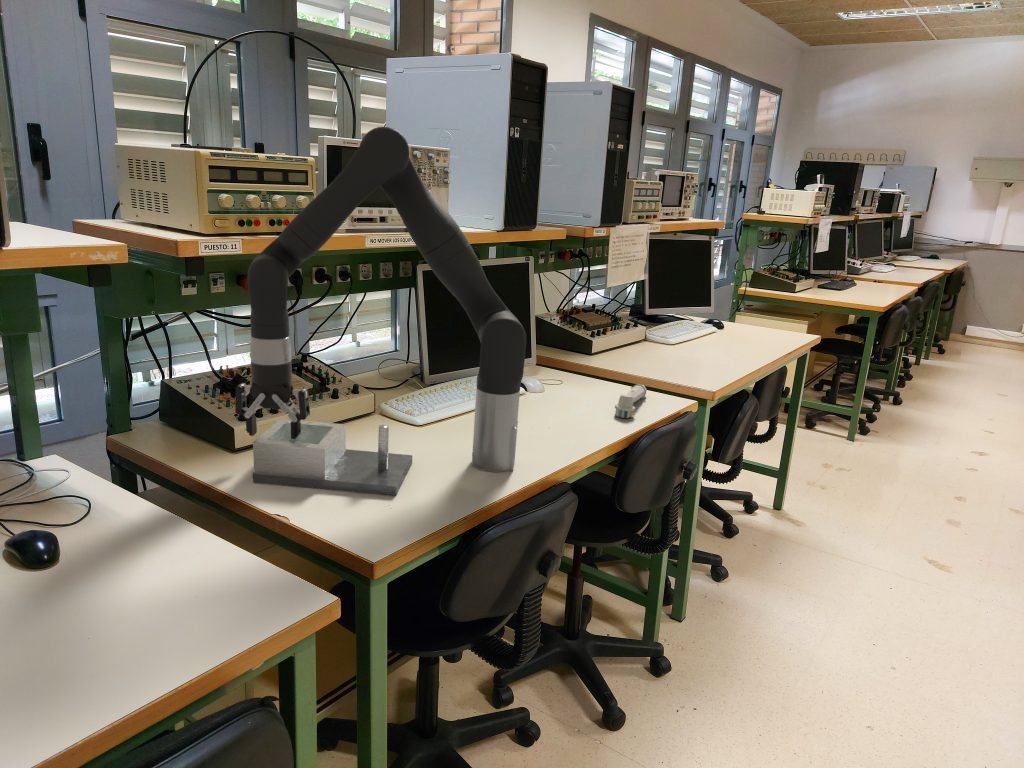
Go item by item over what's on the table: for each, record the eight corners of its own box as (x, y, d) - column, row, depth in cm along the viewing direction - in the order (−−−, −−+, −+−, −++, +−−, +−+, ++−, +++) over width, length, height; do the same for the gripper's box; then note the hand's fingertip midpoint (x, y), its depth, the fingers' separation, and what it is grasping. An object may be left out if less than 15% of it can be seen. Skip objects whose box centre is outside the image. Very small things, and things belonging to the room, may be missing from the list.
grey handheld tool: (650, 384, 212) (634, 395, 189) (646, 406, 213) (631, 419, 190) (632, 381, 214) (615, 391, 191) (629, 403, 215) (611, 415, 192)
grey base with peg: (412, 463, 152) (413, 415, 149) (396, 496, 137) (397, 442, 134) (283, 452, 153) (282, 403, 150) (252, 482, 138) (251, 429, 135)
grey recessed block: (345, 451, 151) (345, 424, 150) (325, 477, 138) (324, 448, 136) (280, 445, 152) (280, 418, 150) (253, 471, 138) (252, 442, 137)
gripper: (313, 356, 142) (314, 432, 147) (243, 351, 143) (246, 427, 148) (300, 366, 135) (302, 445, 140) (226, 360, 136) (230, 440, 140)
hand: (273, 436), depth 144 cm, fingers open, 8 cm apart
